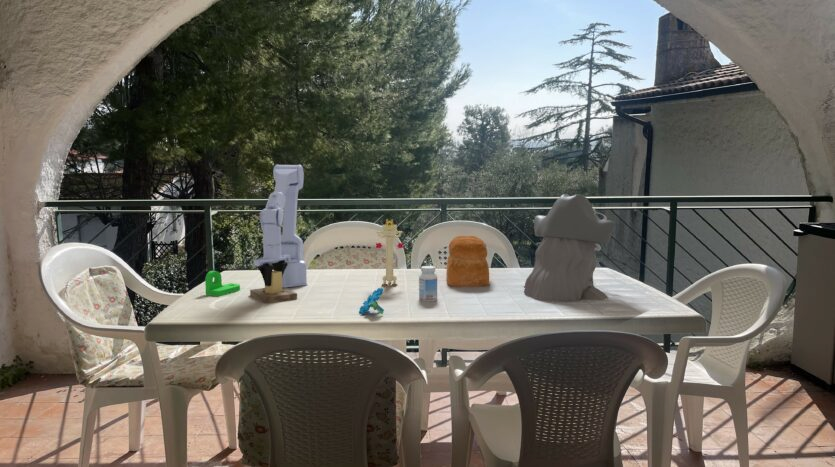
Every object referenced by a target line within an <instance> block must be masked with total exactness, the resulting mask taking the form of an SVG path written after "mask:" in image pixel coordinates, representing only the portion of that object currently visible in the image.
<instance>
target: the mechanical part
mask: <svg viewBox="0 0 835 467" xmlns="http://www.w3.org/2000/svg"><path fill="white" fill-rule="evenodd" d="M204 279H205V280H204V282H205V295H206V296H207V295H208V296H214V297H222V296H226V295H229V294H232V293H233V294H234V293H236V292H239V291H241V284H240V283H233V282H229V283H226V284H223V283H222V282H223V281H222V274H221V273H220V271H217V270H210V271H208V272H207V273H206V275H205V278H204Z"/></svg>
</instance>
